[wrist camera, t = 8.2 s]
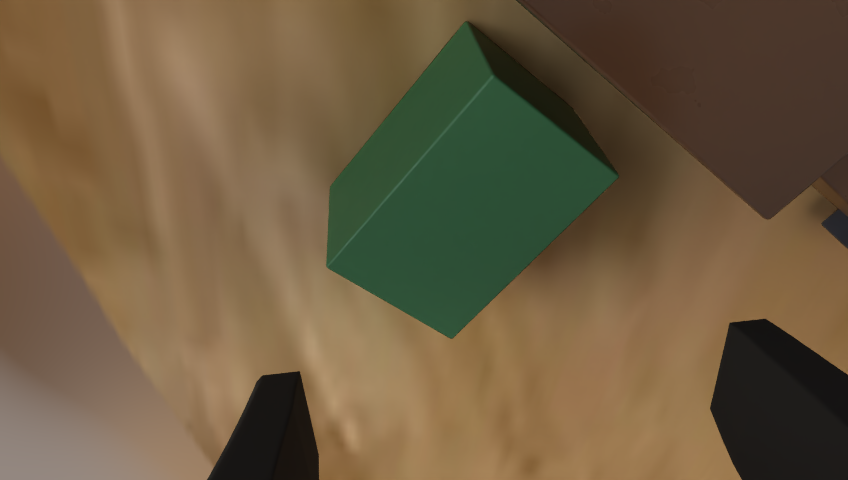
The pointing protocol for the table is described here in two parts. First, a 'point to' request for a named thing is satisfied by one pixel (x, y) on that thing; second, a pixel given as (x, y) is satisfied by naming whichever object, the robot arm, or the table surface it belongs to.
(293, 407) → the robot arm
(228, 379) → the table surface
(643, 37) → the cabinet
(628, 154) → the table surface
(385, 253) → the snack box
